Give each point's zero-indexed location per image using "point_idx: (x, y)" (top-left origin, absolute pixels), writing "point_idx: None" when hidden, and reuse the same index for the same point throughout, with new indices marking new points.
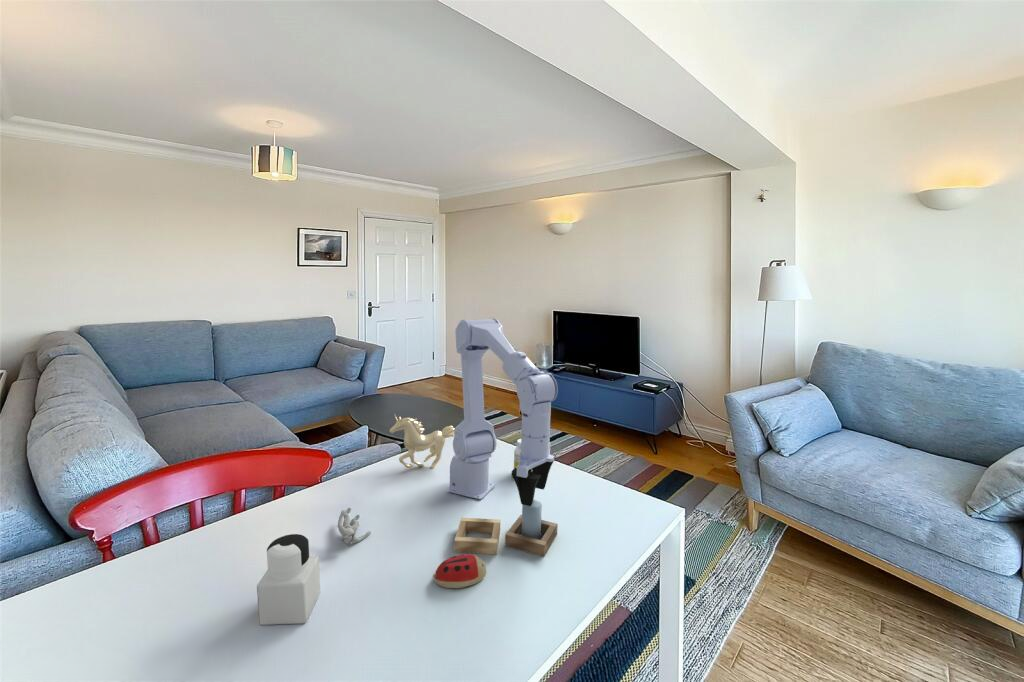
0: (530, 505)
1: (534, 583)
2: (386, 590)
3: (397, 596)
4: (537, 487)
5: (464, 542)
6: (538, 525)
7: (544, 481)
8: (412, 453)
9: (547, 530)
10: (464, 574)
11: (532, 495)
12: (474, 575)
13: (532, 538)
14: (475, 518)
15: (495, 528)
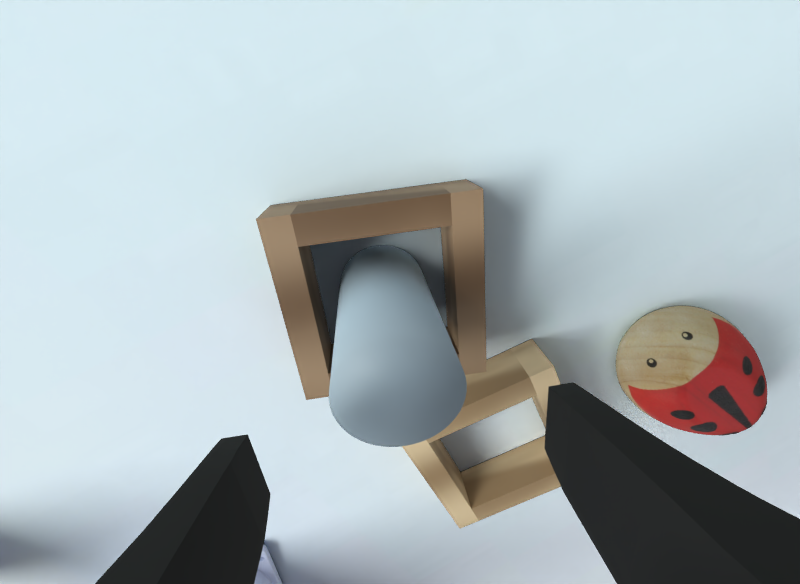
0: (579, 388)
1: (645, 133)
2: (764, 458)
3: (781, 430)
4: (260, 482)
5: None
6: (404, 282)
7: (213, 507)
8: None
9: (352, 236)
10: (754, 353)
11: (679, 454)
12: (728, 328)
13: (456, 266)
14: (441, 498)
15: (465, 419)
